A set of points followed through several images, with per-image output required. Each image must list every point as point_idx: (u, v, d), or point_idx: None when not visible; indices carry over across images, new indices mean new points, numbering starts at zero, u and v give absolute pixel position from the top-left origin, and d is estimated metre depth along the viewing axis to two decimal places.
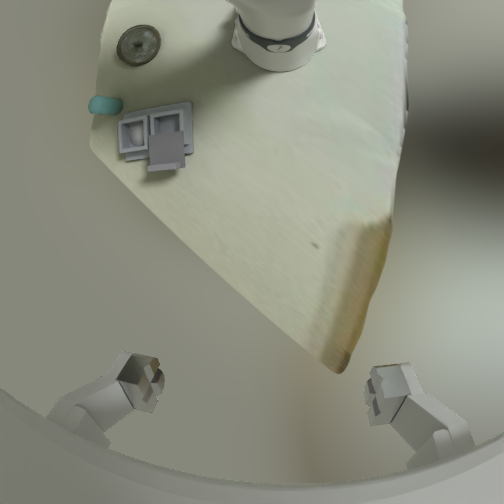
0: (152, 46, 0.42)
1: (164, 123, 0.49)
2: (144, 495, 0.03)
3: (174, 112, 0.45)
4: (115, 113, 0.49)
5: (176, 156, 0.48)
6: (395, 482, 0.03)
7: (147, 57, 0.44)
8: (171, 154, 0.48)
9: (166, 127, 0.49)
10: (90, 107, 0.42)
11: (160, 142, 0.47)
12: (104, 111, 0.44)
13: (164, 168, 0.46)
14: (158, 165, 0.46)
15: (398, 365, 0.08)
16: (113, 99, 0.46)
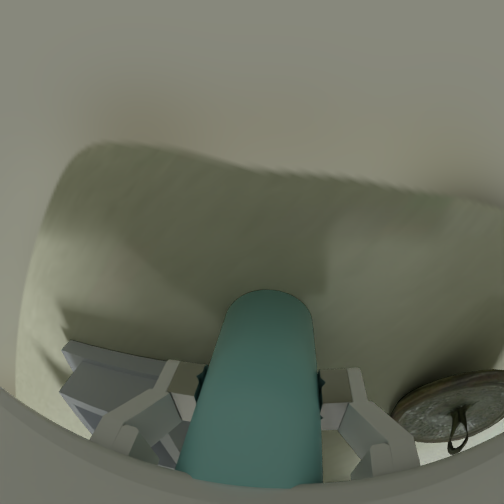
0: (424, 431, 0.14)
1: None
2: (144, 495, 0.03)
3: None
4: None
5: None
6: (395, 482, 0.03)
7: (402, 424, 0.14)
8: None
9: None
10: None
11: None
12: None
13: None
14: None
15: (345, 370, 0.08)
16: None
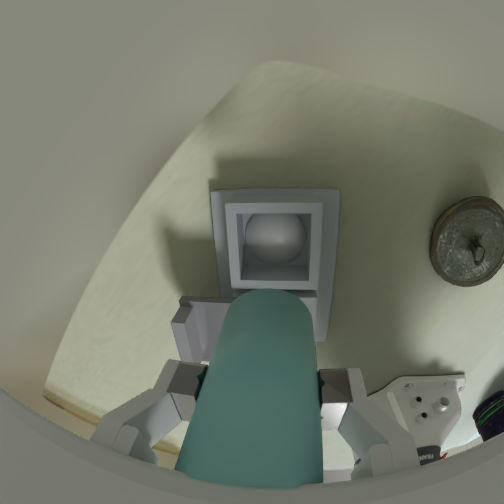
0: (455, 269, 0.23)
1: None
2: (144, 495, 0.03)
3: None
4: None
5: (212, 352, 0.25)
6: (395, 482, 0.03)
7: (439, 256, 0.23)
8: None
9: None
10: None
11: None
12: None
13: (182, 355, 0.22)
14: (187, 345, 0.21)
15: (345, 370, 0.08)
16: None
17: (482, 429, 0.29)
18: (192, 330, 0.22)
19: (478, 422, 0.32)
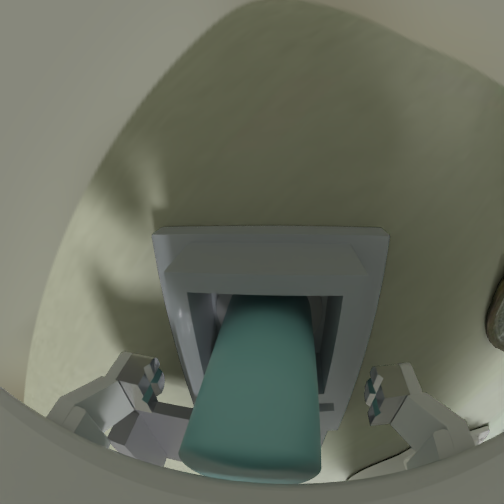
0: None
1: None
2: (144, 495, 0.03)
3: None
4: None
5: (178, 455, 0.14)
6: (395, 482, 0.03)
7: (497, 321, 0.13)
8: None
9: None
10: (233, 453, 0.05)
11: None
12: None
13: None
14: None
15: (398, 365, 0.08)
16: None
17: None
18: (143, 441, 0.12)
19: None
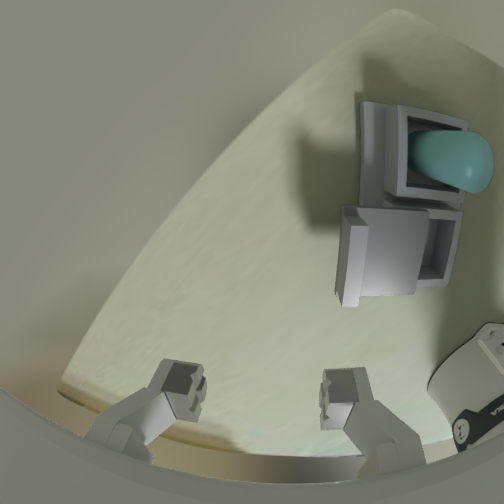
0: None
1: None
2: (144, 495, 0.03)
3: (448, 268, 0.20)
4: (409, 158, 0.18)
5: (365, 281, 0.20)
6: (395, 482, 0.03)
7: None
8: (372, 269, 0.20)
9: None
10: (472, 141, 0.11)
11: (406, 243, 0.18)
12: (439, 170, 0.14)
13: (350, 277, 0.17)
14: (361, 261, 0.17)
15: (350, 370, 0.08)
16: None
17: None
18: None
19: None
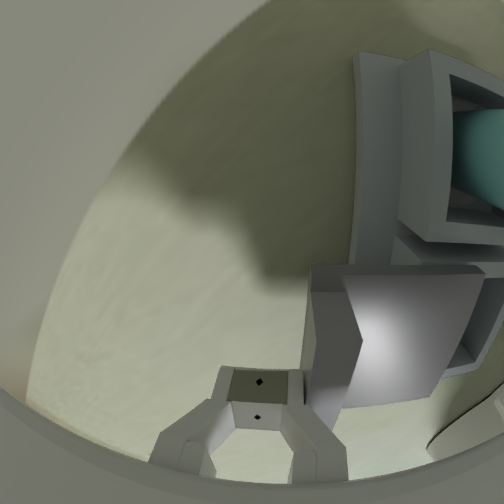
0: None
1: None
2: (144, 495, 0.03)
3: (485, 348, 0.10)
4: None
5: (349, 392, 0.10)
6: (396, 482, 0.03)
7: None
8: (365, 377, 0.10)
9: None
10: None
11: (434, 333, 0.09)
12: None
13: None
14: (338, 398, 0.07)
15: (286, 371, 0.08)
16: None
17: None
18: None
19: None
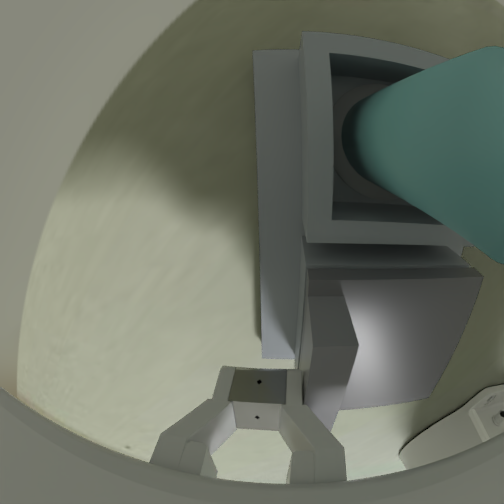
0: None
1: None
2: (144, 495, 0.03)
3: None
4: (350, 152, 0.09)
5: (347, 393, 0.10)
6: (395, 482, 0.03)
7: None
8: (363, 379, 0.10)
9: None
10: None
11: (432, 335, 0.09)
12: (408, 182, 0.05)
13: None
14: (335, 400, 0.07)
15: (284, 371, 0.08)
16: None
17: None
18: None
19: None
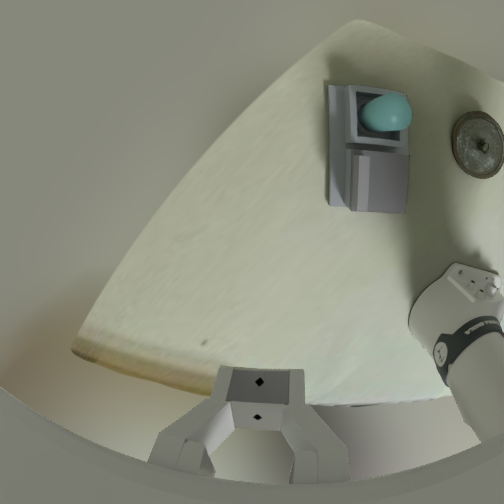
0: (472, 164, 0.28)
1: None
2: (144, 495, 0.03)
3: None
4: (360, 119, 0.28)
5: (370, 200, 0.29)
6: (396, 482, 0.03)
7: (459, 153, 0.28)
8: (374, 192, 0.29)
9: None
10: (392, 98, 0.21)
11: (395, 175, 0.27)
12: (374, 120, 0.24)
13: (360, 190, 0.26)
14: (367, 179, 0.26)
15: (287, 371, 0.08)
16: None
17: None
18: None
19: None
